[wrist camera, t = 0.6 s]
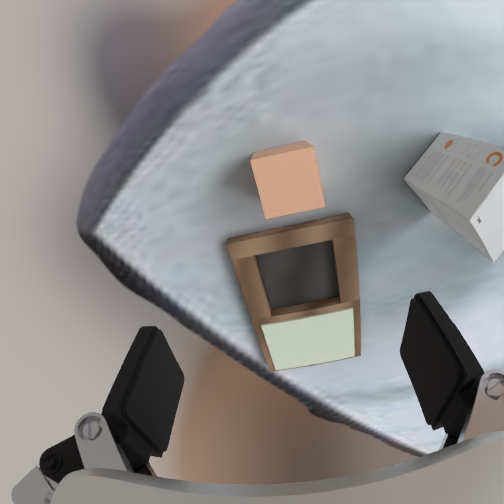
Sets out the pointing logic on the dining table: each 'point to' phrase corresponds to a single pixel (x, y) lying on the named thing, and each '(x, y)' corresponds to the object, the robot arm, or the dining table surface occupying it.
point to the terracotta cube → (288, 179)
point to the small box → (464, 189)
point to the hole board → (302, 291)
